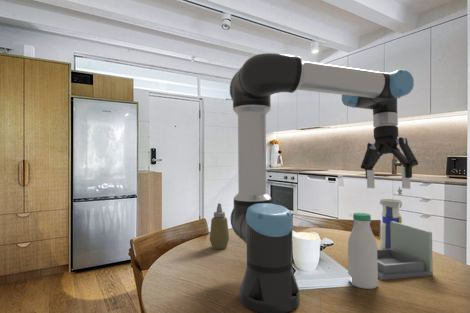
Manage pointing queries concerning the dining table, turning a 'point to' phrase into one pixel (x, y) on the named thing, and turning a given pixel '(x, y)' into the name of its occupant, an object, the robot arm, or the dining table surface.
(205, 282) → the dining table surface
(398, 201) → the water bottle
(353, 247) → the milk bottle
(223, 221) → the squeeze bottle
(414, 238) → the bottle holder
